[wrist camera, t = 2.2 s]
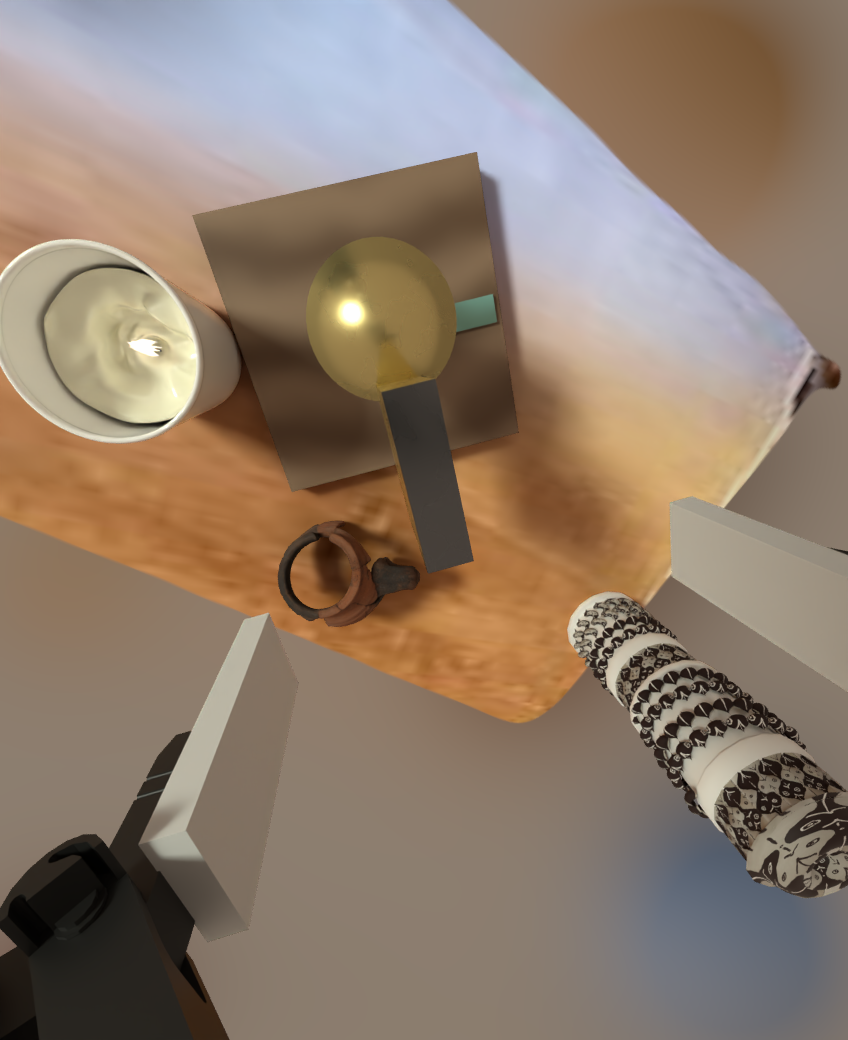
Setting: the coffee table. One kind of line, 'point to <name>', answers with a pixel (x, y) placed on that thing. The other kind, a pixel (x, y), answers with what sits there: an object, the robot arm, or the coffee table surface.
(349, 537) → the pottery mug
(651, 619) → the decorative candle
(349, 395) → the post plinth
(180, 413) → the candle holder
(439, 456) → the cap
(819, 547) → the robot arm
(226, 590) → the coffee table surface
